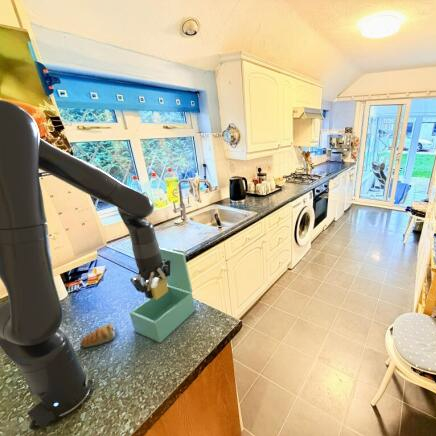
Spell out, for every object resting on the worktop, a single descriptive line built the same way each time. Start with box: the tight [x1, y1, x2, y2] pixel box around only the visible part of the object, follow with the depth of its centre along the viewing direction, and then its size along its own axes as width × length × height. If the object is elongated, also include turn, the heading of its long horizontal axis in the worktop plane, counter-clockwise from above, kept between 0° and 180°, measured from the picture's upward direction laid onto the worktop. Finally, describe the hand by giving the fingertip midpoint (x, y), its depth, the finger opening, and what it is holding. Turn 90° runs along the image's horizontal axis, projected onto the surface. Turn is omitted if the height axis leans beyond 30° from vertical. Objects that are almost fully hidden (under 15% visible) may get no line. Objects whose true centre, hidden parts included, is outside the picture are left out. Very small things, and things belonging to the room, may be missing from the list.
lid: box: [159, 246, 193, 293], centre depth 93 cm, size 17×13×5 cm
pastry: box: [80, 323, 116, 348], centre depth 82 cm, size 9×7×4 cm
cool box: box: [129, 285, 196, 343], centre depth 89 cm, size 17×13×9 cm
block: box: [151, 277, 168, 300], centre depth 84 cm, size 5×5×5 cm
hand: (157, 292), depth 85 cm, fingers closed on block, 5 cm apart
